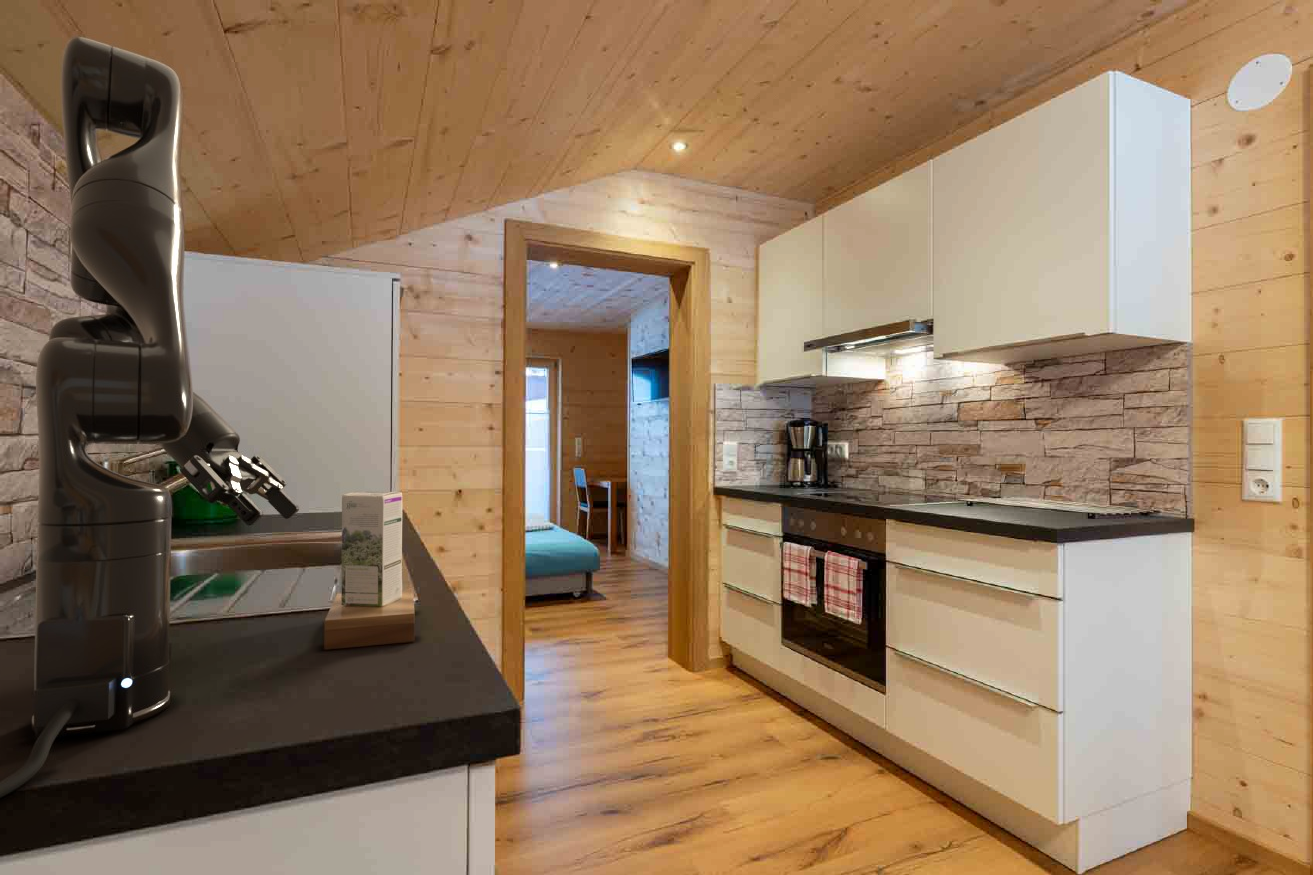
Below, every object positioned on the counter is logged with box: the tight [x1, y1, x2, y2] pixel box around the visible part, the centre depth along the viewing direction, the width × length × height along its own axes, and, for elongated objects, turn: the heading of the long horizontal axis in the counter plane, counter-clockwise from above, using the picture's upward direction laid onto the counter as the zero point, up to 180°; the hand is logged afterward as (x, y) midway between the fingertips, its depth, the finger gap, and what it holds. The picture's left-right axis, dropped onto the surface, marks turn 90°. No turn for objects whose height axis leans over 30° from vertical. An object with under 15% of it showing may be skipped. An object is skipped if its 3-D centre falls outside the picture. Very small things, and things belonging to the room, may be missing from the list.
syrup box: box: [341, 491, 403, 606], centre depth 89 cm, size 6×6×14 cm
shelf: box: [323, 587, 416, 651], centre depth 88 cm, size 16×10×4 cm, turn 21°
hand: (276, 517), depth 88 cm, fingers open, 8 cm apart
